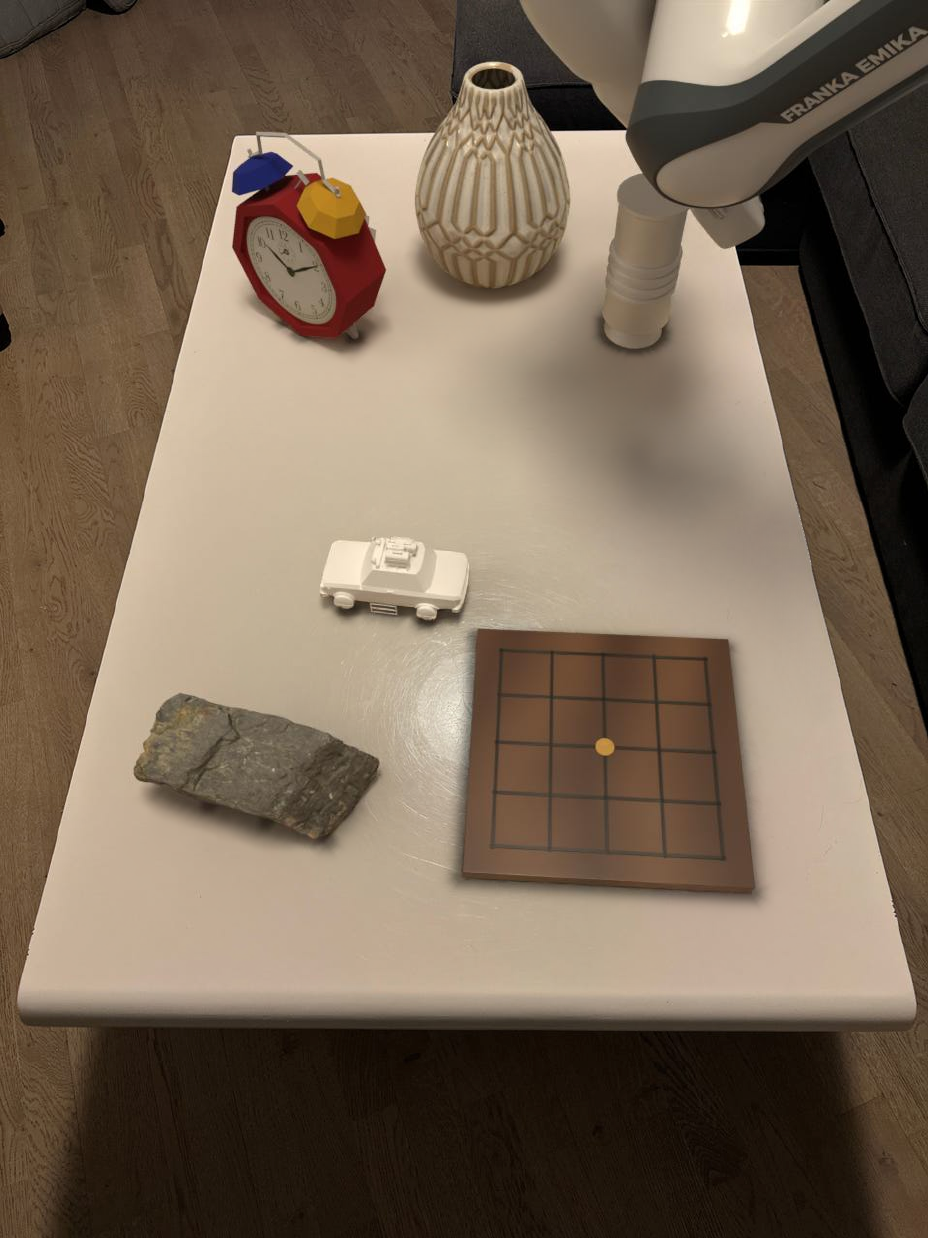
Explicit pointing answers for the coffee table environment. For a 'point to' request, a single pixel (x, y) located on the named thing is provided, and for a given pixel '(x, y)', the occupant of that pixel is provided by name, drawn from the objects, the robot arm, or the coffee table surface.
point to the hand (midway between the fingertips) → (739, 160)
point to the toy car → (395, 575)
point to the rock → (254, 764)
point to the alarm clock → (305, 244)
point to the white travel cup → (642, 264)
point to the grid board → (606, 763)
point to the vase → (492, 183)
